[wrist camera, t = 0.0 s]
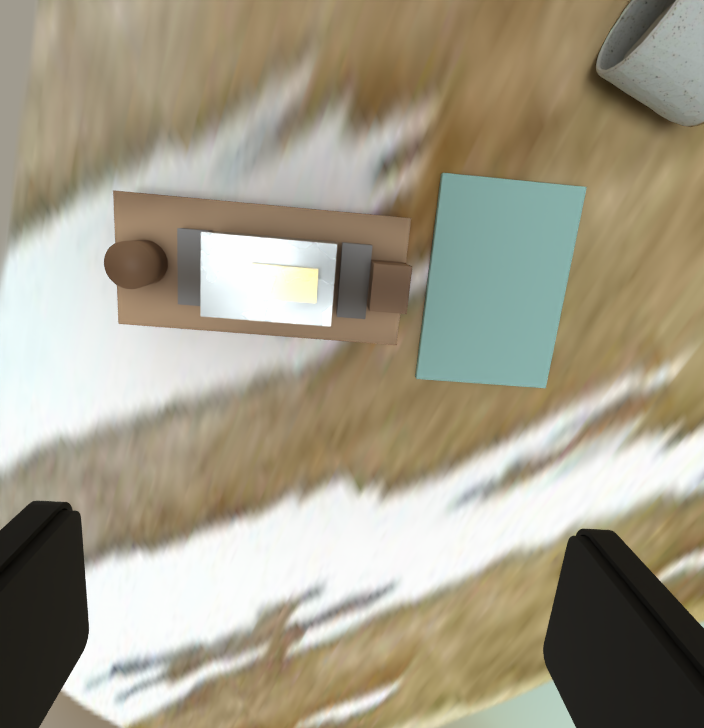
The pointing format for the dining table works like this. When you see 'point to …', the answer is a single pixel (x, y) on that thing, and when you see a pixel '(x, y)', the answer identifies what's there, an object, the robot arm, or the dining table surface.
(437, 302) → the mat
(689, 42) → the ceramic mug
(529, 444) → the dining table surface
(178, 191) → the dining table surface
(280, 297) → the lever cap
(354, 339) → the plane body
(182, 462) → the dining table surface
